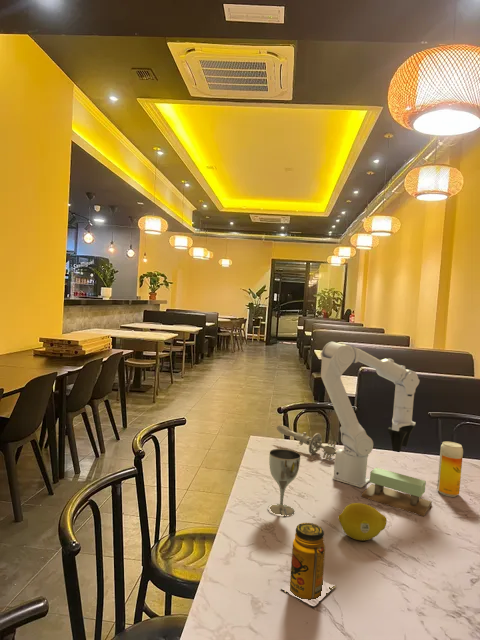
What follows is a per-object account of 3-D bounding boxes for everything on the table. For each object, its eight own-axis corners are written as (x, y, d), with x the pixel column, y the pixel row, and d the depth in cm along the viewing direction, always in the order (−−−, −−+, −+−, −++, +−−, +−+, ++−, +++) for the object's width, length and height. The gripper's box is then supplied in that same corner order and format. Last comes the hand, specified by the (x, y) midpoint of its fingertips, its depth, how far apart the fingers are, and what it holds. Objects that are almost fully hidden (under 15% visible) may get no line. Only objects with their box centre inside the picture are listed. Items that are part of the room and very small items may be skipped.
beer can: (461, 498, 130) (466, 448, 130) (439, 495, 131) (443, 445, 131) (455, 490, 136) (460, 442, 136) (434, 487, 137) (439, 439, 137)
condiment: (280, 590, 84) (284, 527, 83) (304, 571, 90) (308, 513, 89) (313, 609, 79) (318, 543, 78) (336, 587, 85) (341, 526, 85)
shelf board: (369, 482, 128) (370, 472, 128) (375, 477, 132) (376, 467, 132) (420, 497, 120) (421, 486, 120) (424, 491, 124) (425, 480, 124)
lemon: (335, 541, 102) (337, 507, 102) (338, 525, 110) (341, 493, 109) (384, 552, 99) (387, 517, 98) (384, 535, 106) (387, 502, 106)
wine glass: (300, 508, 117) (304, 452, 117) (290, 520, 110) (295, 461, 110) (272, 500, 121) (275, 446, 120) (261, 512, 114) (265, 454, 113)
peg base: (361, 496, 127) (362, 482, 127) (371, 487, 135) (373, 474, 134) (423, 516, 117) (425, 501, 117) (431, 505, 125) (432, 491, 125)
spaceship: (285, 419, 176) (275, 415, 170) (366, 453, 153) (358, 449, 147) (278, 438, 174) (267, 434, 169) (358, 475, 151) (350, 472, 146)
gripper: (410, 412, 133) (406, 457, 134) (422, 405, 145) (418, 446, 146) (386, 408, 137) (383, 451, 138) (399, 401, 149) (396, 441, 150)
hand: (399, 448), depth 142 cm, fingers open, 7 cm apart
